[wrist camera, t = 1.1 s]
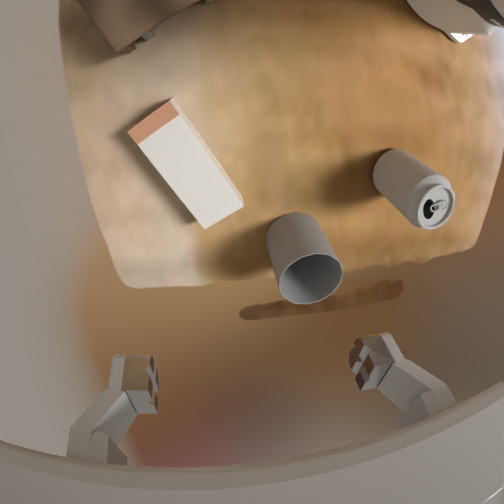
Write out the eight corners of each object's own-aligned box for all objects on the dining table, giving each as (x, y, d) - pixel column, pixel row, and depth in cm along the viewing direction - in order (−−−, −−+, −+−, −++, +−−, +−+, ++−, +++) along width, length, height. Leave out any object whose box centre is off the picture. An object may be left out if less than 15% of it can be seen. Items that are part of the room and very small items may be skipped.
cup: (316, 257, 49) (336, 300, 41) (265, 261, 48) (277, 307, 40) (322, 210, 44) (348, 250, 36) (267, 213, 43) (281, 255, 35)
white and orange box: (172, 97, 32) (169, 100, 30) (241, 195, 41) (244, 206, 39) (133, 126, 33) (127, 132, 31) (204, 218, 42) (204, 229, 40)
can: (364, 157, 40) (410, 194, 30) (406, 140, 39) (458, 172, 29) (375, 200, 44) (416, 244, 34) (414, 182, 43) (460, 221, 33)
